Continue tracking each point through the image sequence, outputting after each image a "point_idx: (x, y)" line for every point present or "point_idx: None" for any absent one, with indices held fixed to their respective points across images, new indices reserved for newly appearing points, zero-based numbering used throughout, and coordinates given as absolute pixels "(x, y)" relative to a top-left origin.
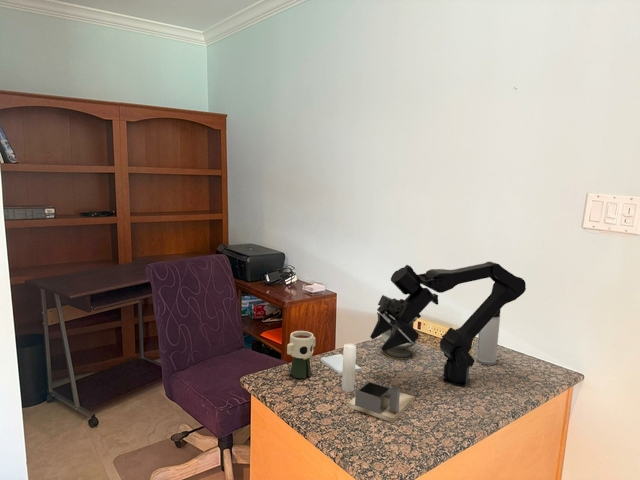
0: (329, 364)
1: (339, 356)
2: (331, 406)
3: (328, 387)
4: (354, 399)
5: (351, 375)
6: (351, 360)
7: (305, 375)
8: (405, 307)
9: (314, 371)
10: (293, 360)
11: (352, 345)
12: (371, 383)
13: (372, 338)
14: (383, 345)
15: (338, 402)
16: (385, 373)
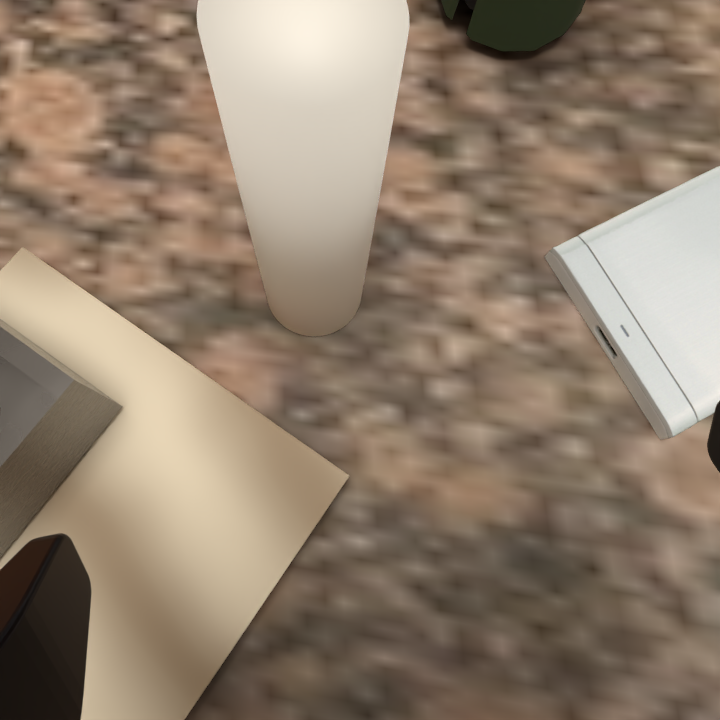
0: (692, 180)
1: None
2: (58, 159)
3: None
4: (69, 299)
5: (255, 249)
6: (230, 155)
7: (453, 2)
8: None
9: (585, 88)
10: None
11: (324, 52)
12: (25, 407)
13: (715, 444)
14: (4, 587)
15: (111, 207)
16: (641, 655)
